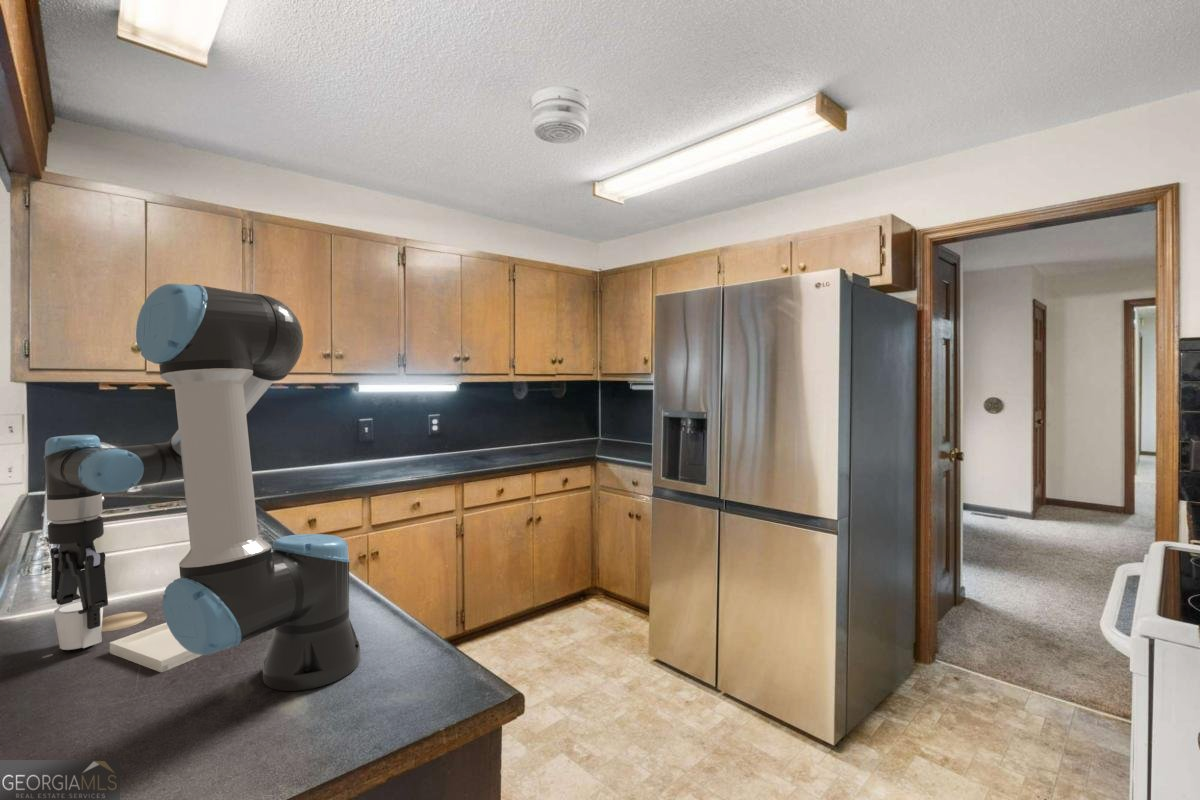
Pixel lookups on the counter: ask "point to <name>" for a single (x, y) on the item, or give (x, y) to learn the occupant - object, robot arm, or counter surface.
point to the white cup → (70, 625)
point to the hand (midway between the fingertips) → (80, 640)
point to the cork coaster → (122, 621)
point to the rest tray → (152, 649)
